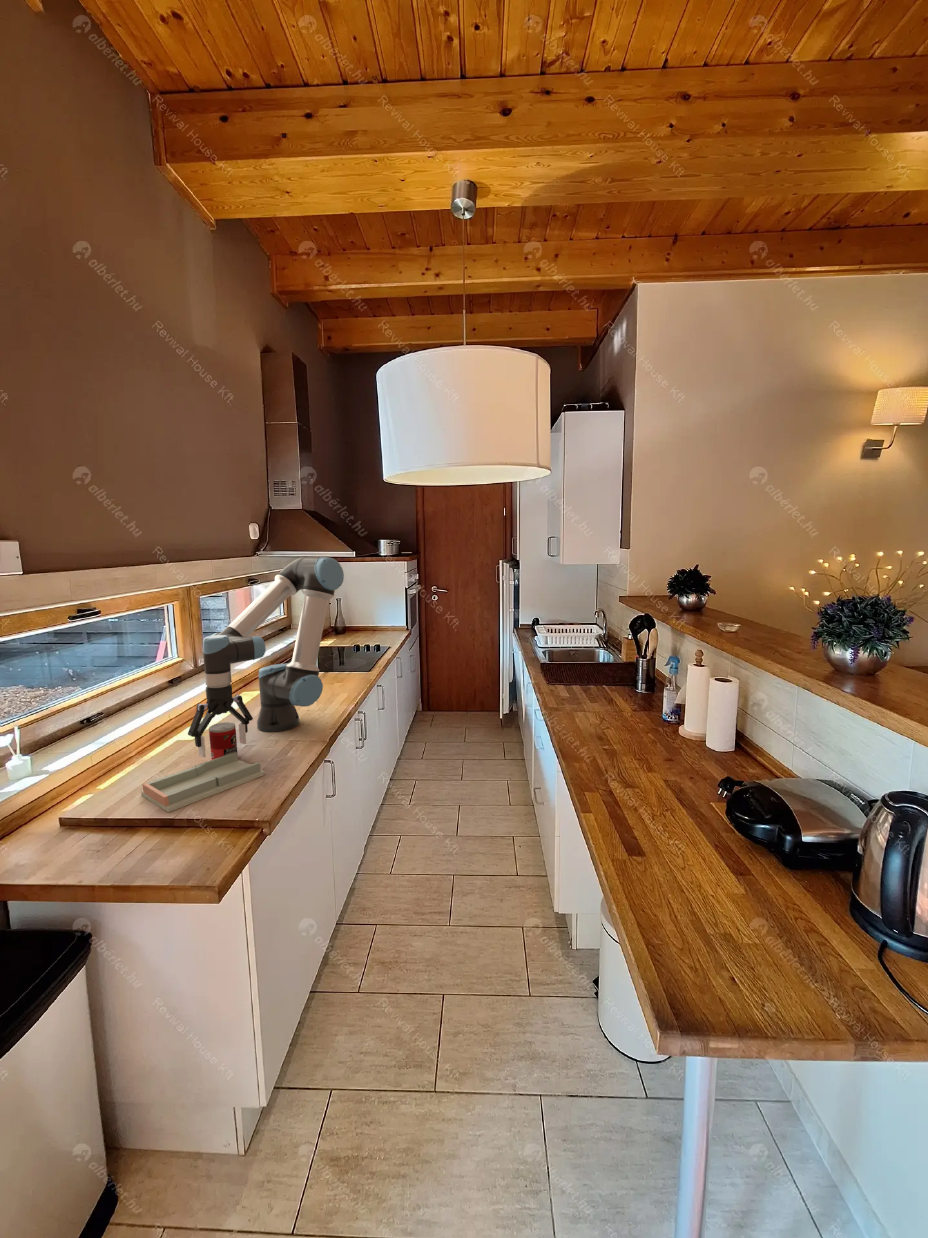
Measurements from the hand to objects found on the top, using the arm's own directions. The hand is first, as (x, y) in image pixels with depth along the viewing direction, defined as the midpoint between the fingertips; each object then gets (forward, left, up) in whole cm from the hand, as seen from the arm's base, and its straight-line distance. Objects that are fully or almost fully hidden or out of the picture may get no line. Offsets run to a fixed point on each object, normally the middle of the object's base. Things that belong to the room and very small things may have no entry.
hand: (223, 749), depth 176 cm
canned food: (0, 0, -4) cm, 4 cm away
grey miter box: (+13, +13, -3) cm, 19 cm away
